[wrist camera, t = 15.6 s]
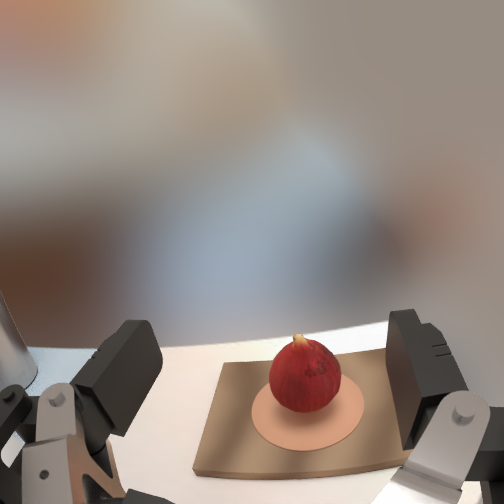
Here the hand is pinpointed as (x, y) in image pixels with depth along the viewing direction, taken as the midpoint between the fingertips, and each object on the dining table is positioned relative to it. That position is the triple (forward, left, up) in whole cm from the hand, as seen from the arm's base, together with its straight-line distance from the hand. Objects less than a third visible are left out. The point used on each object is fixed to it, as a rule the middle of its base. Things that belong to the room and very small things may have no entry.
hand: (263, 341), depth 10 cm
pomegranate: (-4, +10, -16) cm, 19 cm away
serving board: (-4, +10, -17) cm, 20 cm away
